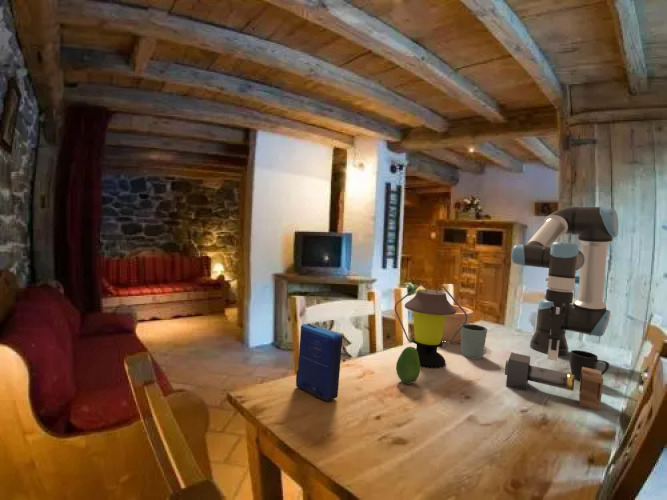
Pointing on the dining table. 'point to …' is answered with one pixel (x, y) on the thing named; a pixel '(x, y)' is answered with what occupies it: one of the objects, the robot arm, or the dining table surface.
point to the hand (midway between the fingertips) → (552, 354)
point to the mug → (584, 362)
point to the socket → (590, 388)
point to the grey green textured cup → (473, 340)
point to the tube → (549, 377)
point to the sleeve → (518, 371)
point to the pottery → (455, 324)
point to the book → (319, 361)
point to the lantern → (429, 324)
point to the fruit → (408, 365)
